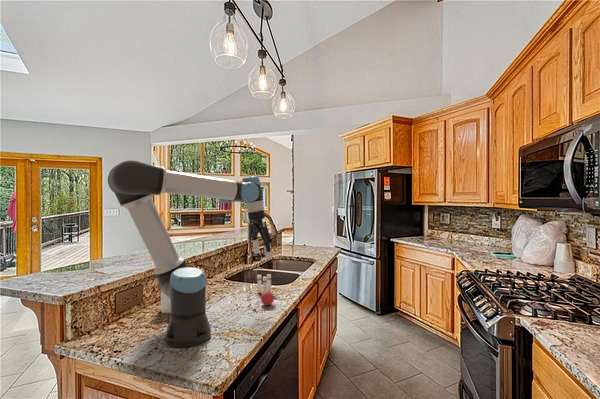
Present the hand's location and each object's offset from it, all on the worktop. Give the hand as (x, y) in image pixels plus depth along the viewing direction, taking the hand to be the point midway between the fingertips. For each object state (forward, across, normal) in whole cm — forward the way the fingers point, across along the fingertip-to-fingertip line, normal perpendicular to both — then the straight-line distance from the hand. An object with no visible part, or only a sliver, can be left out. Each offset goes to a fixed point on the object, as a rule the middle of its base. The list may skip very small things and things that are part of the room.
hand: (262, 256), depth 141 cm
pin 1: (+23, +18, -2) cm, 30 cm away
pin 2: (+24, +16, -6) cm, 30 cm away
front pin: (+24, +13, -3) cm, 27 cm away
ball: (+19, -1, +2) cm, 20 cm away
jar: (+16, +14, +41) cm, 46 cm away
